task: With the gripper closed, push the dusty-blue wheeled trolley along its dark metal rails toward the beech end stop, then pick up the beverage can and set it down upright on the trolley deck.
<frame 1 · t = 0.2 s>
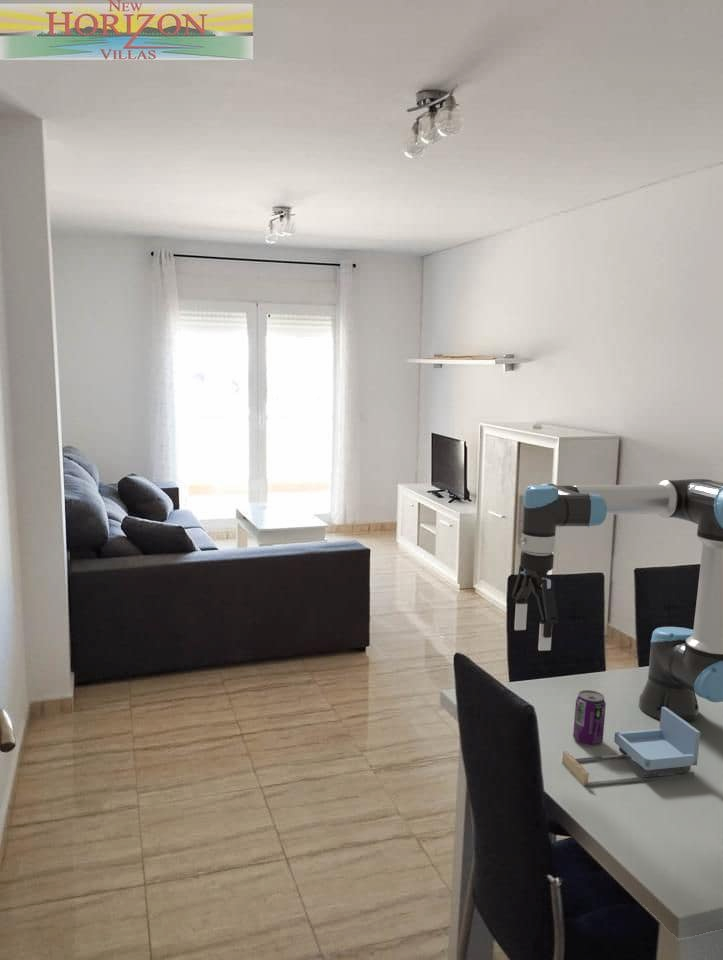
hand: (531, 639, 179), 28 cm above the table, fingers open, 13 cm apart
trolley: (655, 742, 176), point 6 cm above the table, slide at 0.0 cm
beverage can: (587, 741, 188), on the table
track: (628, 768, 175), on the table
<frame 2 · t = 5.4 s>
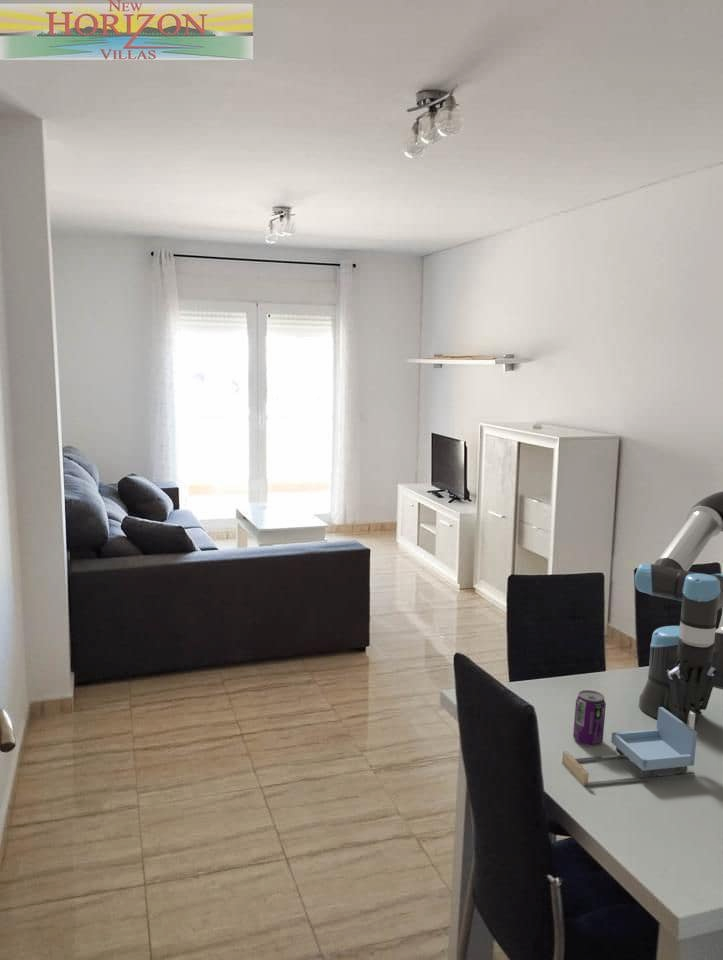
hand: (686, 737, 177), 7 cm above the table, fingers closed
trolley: (652, 742, 176), point 6 cm above the table, slide at 0.8 cm, touching gripper
everything else where it was.
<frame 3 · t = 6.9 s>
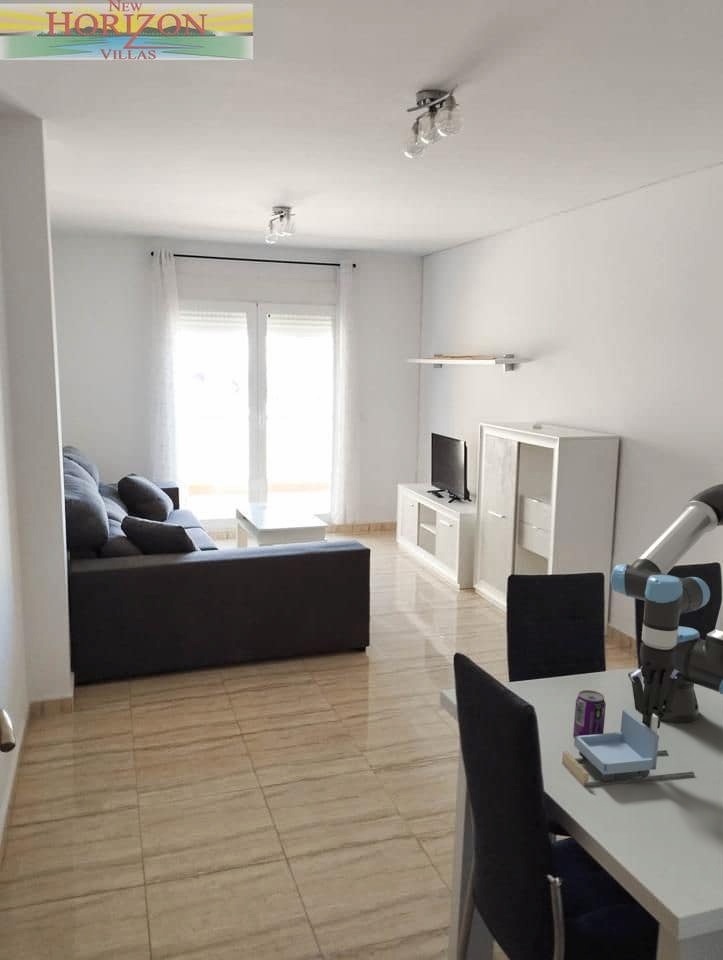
hand: (649, 741, 175), 7 cm above the table, fingers closed
trolley: (614, 745, 173), point 6 cm above the table, slide at 10.5 cm, touching gripper
everything else where it was.
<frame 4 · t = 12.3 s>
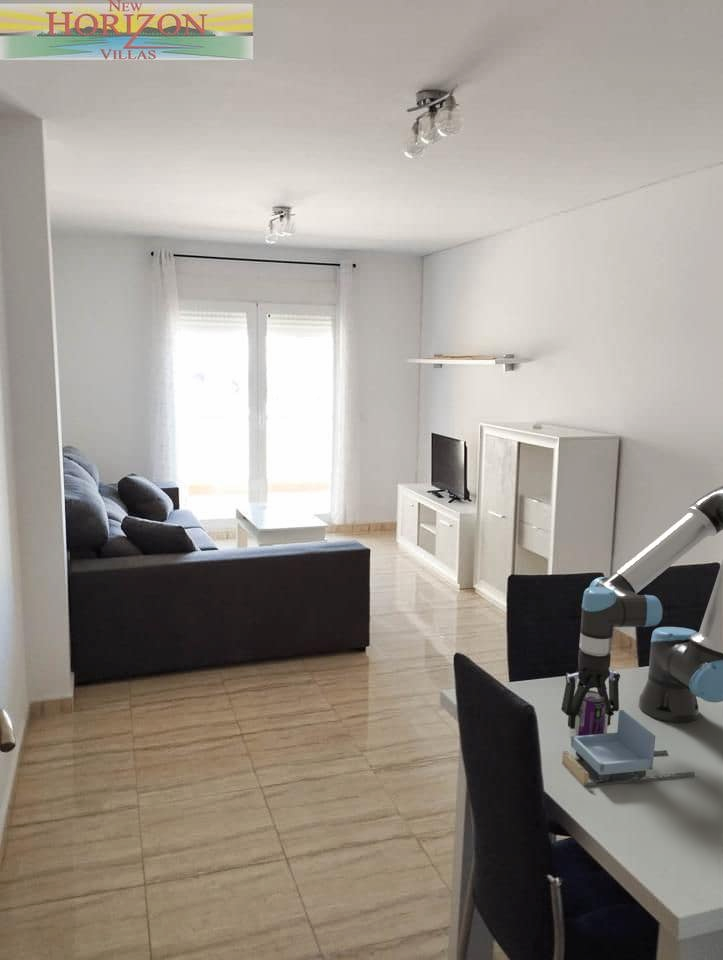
hand: (587, 738, 188), 1 cm above the table, fingers closed on beverage can, 7 cm apart
trolley: (611, 746, 173), point 6 cm above the table, slide at 11.4 cm
beverage can: (587, 741, 188), on the table, touching gripper
when the fingers open (6 cm above the table, at t = 17.2 s): beverage can drops 1 cm, resting on trolley.
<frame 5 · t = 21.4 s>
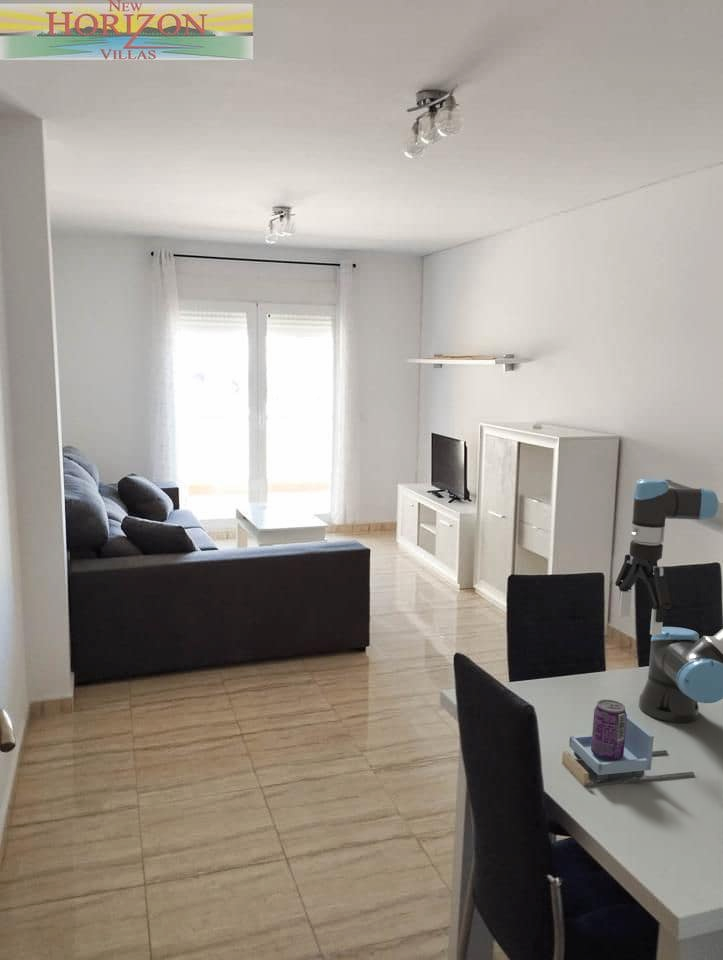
hand: (639, 624, 189), 29 cm above the table, fingers open, 13 cm apart
trolley: (609, 746, 173), point 6 cm above the table, slide at 11.8 cm, touching beverage can
beverage can: (606, 755, 173), point 4 cm above the table, touching trolley
at the end: trolley slide at 11.9 cm; beverage can inside the target area on the trolley (0.4 cm from its centre), point 3.9 cm above the trolley's base; beverage can tilted 0° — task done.
